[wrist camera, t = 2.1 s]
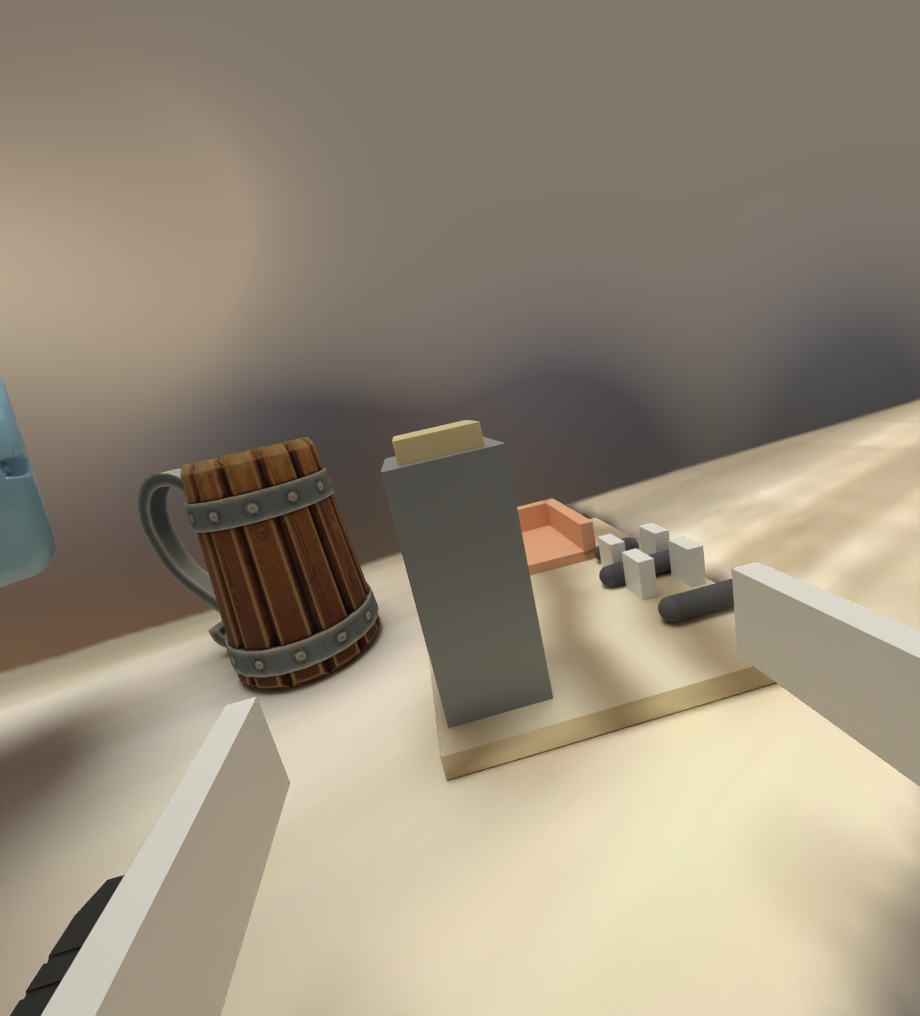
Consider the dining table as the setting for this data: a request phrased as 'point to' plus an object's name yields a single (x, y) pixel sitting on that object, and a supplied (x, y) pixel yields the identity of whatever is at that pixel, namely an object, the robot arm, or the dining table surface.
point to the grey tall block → (467, 569)
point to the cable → (676, 604)
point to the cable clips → (641, 566)
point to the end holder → (555, 536)
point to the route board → (604, 667)
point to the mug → (267, 561)
